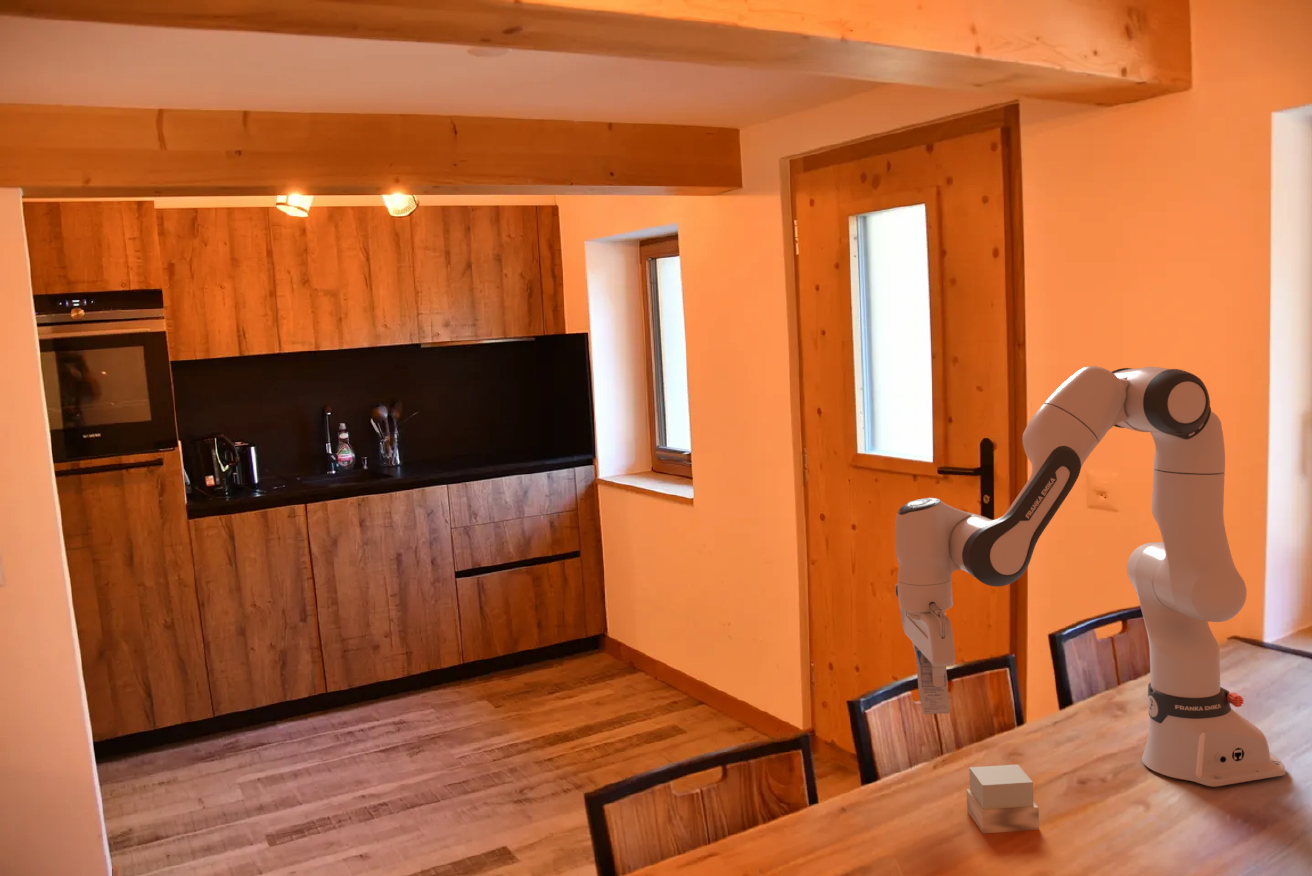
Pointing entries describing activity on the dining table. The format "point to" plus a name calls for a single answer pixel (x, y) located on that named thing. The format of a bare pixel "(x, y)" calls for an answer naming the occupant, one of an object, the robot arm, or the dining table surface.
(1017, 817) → the tower base
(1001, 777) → the tower top
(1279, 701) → the dining table surface
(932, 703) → the medicine box
